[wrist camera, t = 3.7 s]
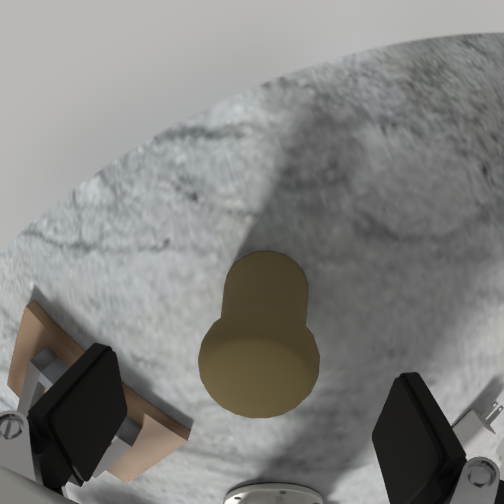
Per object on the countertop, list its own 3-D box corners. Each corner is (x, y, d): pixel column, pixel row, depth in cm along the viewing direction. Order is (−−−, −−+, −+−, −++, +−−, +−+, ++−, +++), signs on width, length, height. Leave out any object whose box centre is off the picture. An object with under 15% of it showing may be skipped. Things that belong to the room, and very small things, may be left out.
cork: (215, 259, 21) (158, 328, 10) (300, 243, 20) (327, 302, 10) (234, 335, 22) (204, 441, 12) (313, 322, 22) (339, 426, 11)
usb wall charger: (443, 433, 24) (455, 456, 20) (485, 390, 22) (502, 409, 18) (457, 440, 24) (469, 461, 20) (497, 399, 22) (512, 417, 18)
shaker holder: (190, 430, 25) (179, 463, 21) (130, 475, 28) (118, 499, 24) (34, 300, 23) (5, 316, 19) (13, 379, 27) (-6, 395, 22)
